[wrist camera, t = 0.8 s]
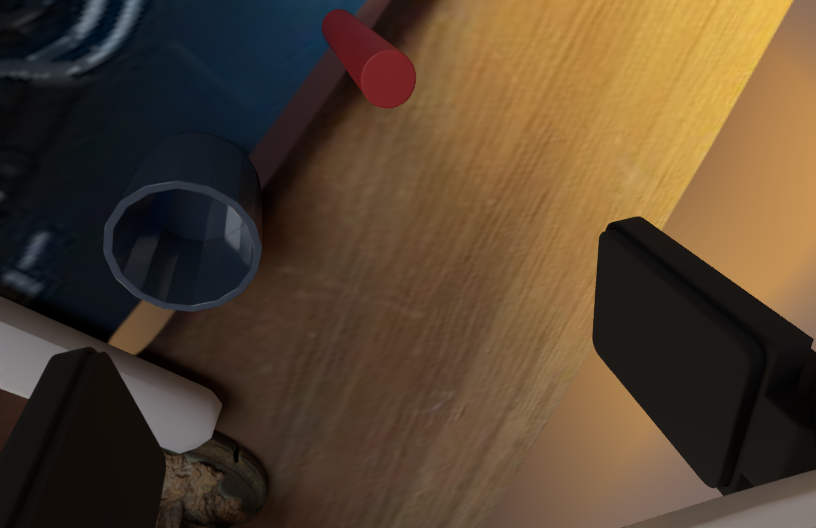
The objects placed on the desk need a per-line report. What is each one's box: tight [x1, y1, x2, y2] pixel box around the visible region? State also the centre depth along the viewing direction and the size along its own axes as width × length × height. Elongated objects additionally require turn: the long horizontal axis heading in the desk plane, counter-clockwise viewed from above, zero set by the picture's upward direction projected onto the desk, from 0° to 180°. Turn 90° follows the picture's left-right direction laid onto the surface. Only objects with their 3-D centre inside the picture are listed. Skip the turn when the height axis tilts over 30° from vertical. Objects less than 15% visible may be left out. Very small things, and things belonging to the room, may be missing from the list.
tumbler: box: [103, 132, 262, 312], centre depth 30 cm, size 7×7×8 cm
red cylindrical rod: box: [322, 9, 416, 108], centre depth 25 cm, size 2×2×14 cm
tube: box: [0, 296, 222, 453], centre depth 34 cm, size 5×5×25 cm
